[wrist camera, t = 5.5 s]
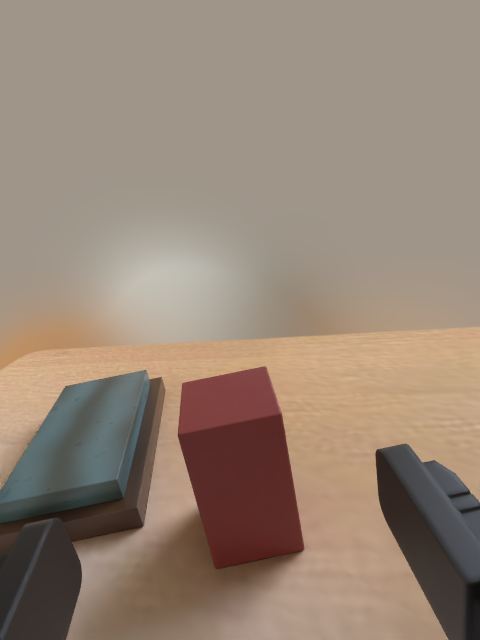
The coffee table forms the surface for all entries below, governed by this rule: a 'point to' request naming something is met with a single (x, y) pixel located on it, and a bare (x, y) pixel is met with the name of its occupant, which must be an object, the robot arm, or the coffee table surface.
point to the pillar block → (239, 466)
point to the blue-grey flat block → (88, 460)
